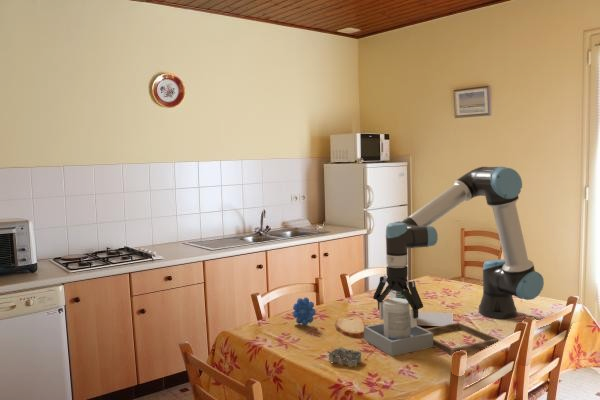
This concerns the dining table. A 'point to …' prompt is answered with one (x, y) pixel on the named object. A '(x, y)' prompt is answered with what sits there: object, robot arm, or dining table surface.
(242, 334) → the dining table surface
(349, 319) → the bread slice
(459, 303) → the dining table surface
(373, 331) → the grey bin
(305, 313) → the grapes
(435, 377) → the dining table surface
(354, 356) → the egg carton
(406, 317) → the supplement tub
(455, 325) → the rim
